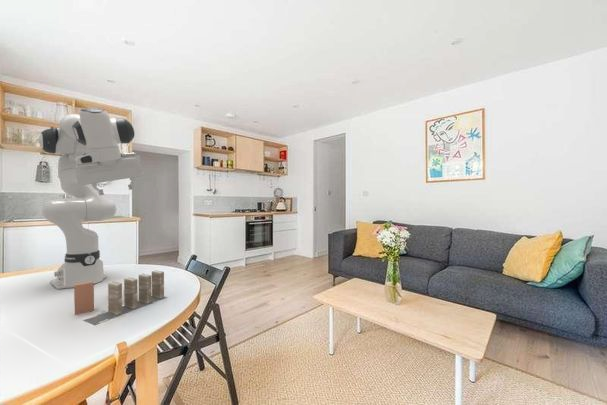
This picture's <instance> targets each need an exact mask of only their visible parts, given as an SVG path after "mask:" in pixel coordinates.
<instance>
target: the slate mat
mask: <svg viewBox="0 0 607 405" xmlns="http://www.w3.org/2000/svg"><path fill="white" fill-rule="evenodd" d="M168 298H169V297H168V296H164V298H162V299H158V298H155V297H152V302H151V303H148V304H146V303H142V302H139V300H138V308H135V309H130V308H127V307H124V305H122V314H119V315H115V314H112V313H109V311H108V310H107V311H106V312H102V313H99V314H97V315H93V316H90V317H87V318H86V319H83V320H82V321H83V322H86V323H89V324H91V325H93V326H97V325H100V324H101V323H104V322H107V321H110V320H112V319H115V318H117V317H121V316H123V315H125V314H127V313H132V312H133V311H135V310H138V309H141V308H144V307H147V306H149V305H152V304H154V303H157V302H159V301H163V300H164V299H168Z"/></svg>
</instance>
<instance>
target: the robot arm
mask: <svg viewBox="0 0 607 405" xmlns="http://www.w3.org/2000/svg"><path fill="white" fill-rule="evenodd" d="M58 125H59V126H58V128H56V127H54V126H50V128H46V129H44V130H42V131H41V132H40V134H39V136H38V144H39V146H40V147H41V149H42V151H44V152H45V153H49V154H59V155H61V156H59V157H58V163H57V164H58V165H57V166H58V167H57V172H58V176H59V183H60V188H61V190H63V192H64V193H65V194H66V195H68V196H72V197H60V198H55V199H49V200H47V201H46V202H45V203H44V205H43V207H42V215H43V218H44V219H45V220H47V221H48V222H49V223H52V224H53V225H55V226H56V227H57V228H59V229H60V230H61V231H62V233H63V235H64V238H65V244H66V253H65V254H64V262H63V264H62V265H61V266H60V267H59V268H58V269H57V271H54V277H55V278H54V279H53V278H52V279H51V280H50V284H51V285H52V286H53V287H54V288H55V289H56V290H59V289H68V288H69V289H70V288H71V289H72V288H74V284H80V283H86V282H92V281H94V285H95V284H98V283H100V282H102V281H104V279H107V277H108V275H107V274H105V271H104V270H105V268H104V261H103V260H101V259H100V258H101V252H100V250H99V234H98V233H97V232H96V231H94V230H92V229H88V228H86V227H84V226H83V223H84V222H101V221H105V220H110V219H113V218H114V217H115V215H116V213H117V206H116V204H115V202H114V201H113V200H112V199H110V198H107V197H106V196H104V195H105V193H104V189H99V188H98V184H102V183H108V182H112V181H119V180H125V179H129V181H130V184H128V185H127V187H128V190H134V189H135V188H134V183H135V181H136V180H135V178H139V177H142V176H144V174H145V172H144V170H143V167H142V164H141V163H142V158H141V156H140V154H138V153H135V152H130V153H129V152H128V153H126V152H125V153H121V150H120V147H119V145H120V144H123V145H124V144H125V145H126V144H130V143H131V142H132V141H133V139H134V138H135V130H134V127H133V125H132V123H131V122H130V121H129V120H127V119H125V118H124V117H114V118H113V117H112V118H110V116H109V114H108V112H107V110H105V109H102V108H96V107H95V108H92V107H87V108H82V109H80V110H79V113H78V114H77V113H71V114H67V115H64V116H62V117H61V119H60V120H59V123H58Z"/></svg>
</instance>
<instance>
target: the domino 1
mask: <svg viewBox="0 0 607 405" xmlns="http://www.w3.org/2000/svg"><path fill="white" fill-rule="evenodd" d="M107 290H108V291H107V292H108V294H107V295H108V296H107V302H108V303H107V304H108V306H107V307H108V310H107V311H109V313H112V314H115V315H119V314H122V306H123V283H122V282H117V281H110V282H107Z"/></svg>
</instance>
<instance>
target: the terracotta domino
mask: <svg viewBox="0 0 607 405" xmlns="http://www.w3.org/2000/svg"><path fill="white" fill-rule="evenodd" d="M73 289H74V290H73V292H74V293H73V294H74V296H73V298H74V300H73V301H74V302H73V304H74V306H73V307H74V315H79V314H85V313H89V312H92V311H95V284H94V281H92V282H86V283H80V284H74V287H73Z"/></svg>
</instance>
